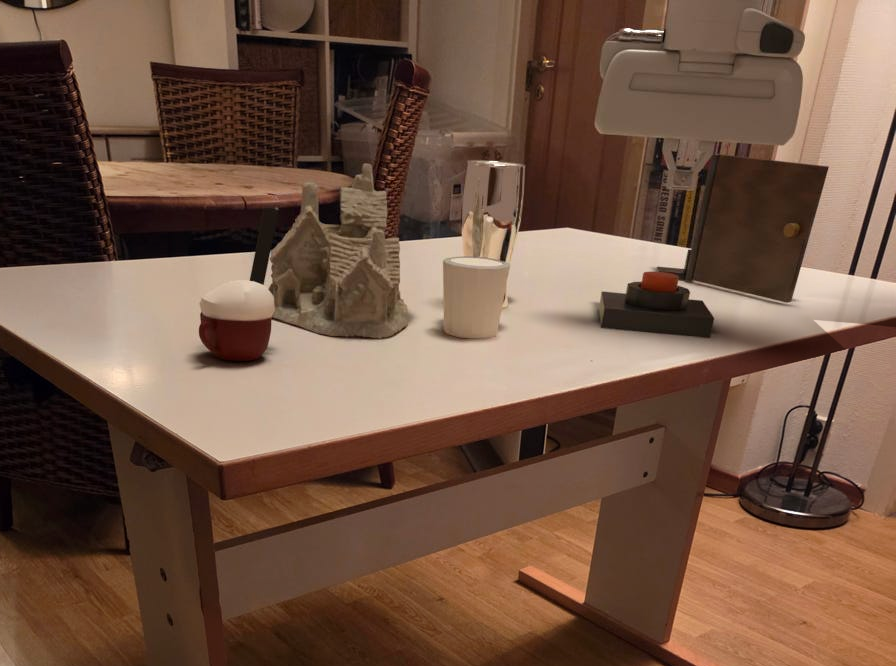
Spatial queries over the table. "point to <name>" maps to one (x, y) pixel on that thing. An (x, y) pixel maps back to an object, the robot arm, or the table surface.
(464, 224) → the beer glass
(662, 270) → the gray angle bracket
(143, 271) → the table surface
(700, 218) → the door
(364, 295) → the ceramic cottage
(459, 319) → the white cup
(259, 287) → the cocoa
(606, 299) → the buzzer
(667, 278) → the button
